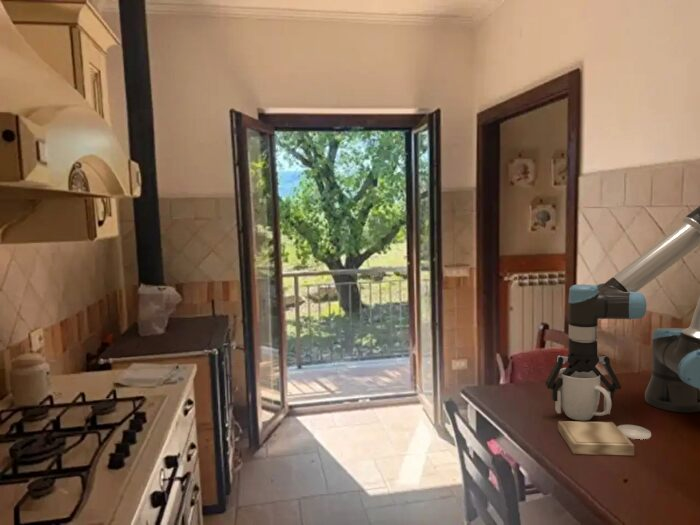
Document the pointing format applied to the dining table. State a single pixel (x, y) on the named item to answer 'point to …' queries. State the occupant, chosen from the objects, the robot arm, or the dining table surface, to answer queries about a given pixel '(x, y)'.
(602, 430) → the base
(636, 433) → the white oval dome
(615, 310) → the robot arm
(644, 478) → the dining table surface
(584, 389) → the mug
